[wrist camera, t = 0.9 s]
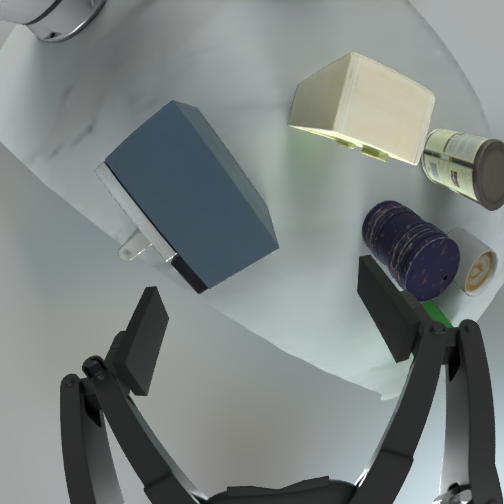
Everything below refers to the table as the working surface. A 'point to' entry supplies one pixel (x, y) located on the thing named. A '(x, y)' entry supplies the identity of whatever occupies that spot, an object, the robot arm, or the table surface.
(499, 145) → the coffee can
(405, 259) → the storage jar
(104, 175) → the microwave door
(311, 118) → the toy refrigerator
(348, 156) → the table surface
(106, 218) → the table surface
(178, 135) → the microwave
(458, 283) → the coffee mug
